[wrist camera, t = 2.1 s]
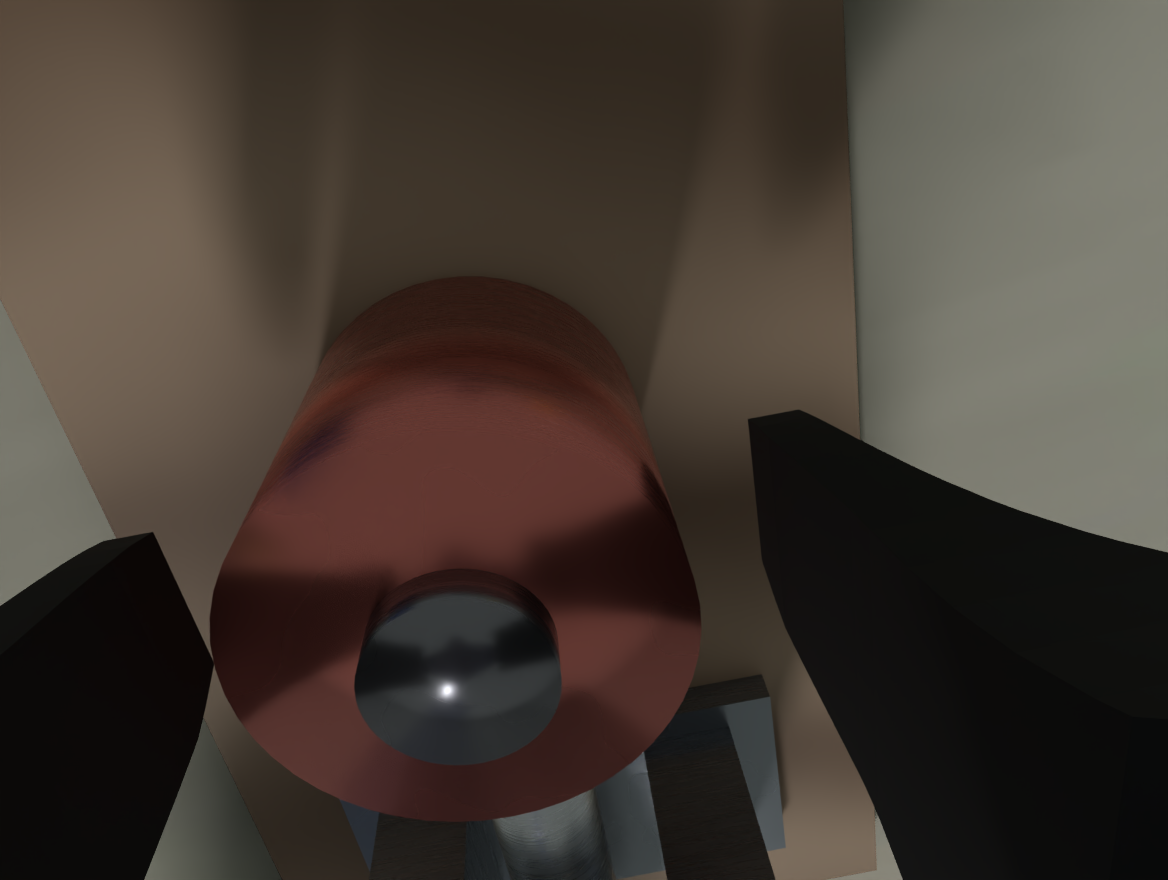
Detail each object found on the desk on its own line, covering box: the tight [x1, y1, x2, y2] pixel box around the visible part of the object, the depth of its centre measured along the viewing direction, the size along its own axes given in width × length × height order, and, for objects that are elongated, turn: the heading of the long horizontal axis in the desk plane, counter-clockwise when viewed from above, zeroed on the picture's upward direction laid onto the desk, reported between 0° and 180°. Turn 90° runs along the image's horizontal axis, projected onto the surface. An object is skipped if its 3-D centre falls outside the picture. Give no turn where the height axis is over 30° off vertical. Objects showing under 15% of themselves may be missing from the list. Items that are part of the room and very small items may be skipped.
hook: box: [209, 276, 702, 880], centre depth 13 cm, size 14×5×6 cm, turn 10°
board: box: [0, 0, 877, 880], centre depth 15 cm, size 21×12×1 cm, turn 10°
